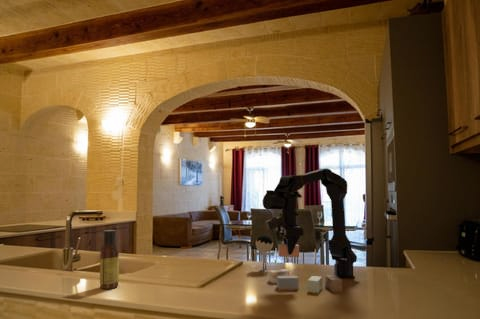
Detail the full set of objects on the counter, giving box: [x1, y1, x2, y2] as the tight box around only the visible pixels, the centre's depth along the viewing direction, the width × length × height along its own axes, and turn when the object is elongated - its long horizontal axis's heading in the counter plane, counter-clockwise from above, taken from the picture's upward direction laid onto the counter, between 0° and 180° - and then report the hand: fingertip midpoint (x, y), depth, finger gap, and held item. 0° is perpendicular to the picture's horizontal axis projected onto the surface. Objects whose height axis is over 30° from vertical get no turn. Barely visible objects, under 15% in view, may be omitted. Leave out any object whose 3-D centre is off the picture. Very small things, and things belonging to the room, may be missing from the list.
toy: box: [254, 234, 275, 270], centre depth 154 cm, size 9×7×15 cm
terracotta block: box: [277, 243, 300, 258], centre depth 125 cm, size 7×4×4 cm, turn 90°
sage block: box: [307, 275, 323, 294], centre depth 121 cm, size 7×4×4 cm, turn 156°
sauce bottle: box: [99, 229, 120, 290], centre depth 123 cm, size 7×6×20 cm
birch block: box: [268, 268, 290, 284], centre depth 133 cm, size 7×4×4 cm, turn 111°
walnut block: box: [324, 274, 343, 292], centre depth 122 cm, size 7×4×4 cm, turn 6°
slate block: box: [276, 275, 300, 291], centre depth 123 cm, size 7×4×4 cm, turn 96°
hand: (288, 253), depth 125 cm, fingers closed on terracotta block, 4 cm apart
